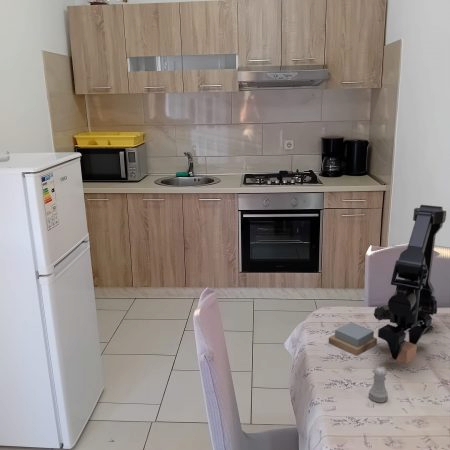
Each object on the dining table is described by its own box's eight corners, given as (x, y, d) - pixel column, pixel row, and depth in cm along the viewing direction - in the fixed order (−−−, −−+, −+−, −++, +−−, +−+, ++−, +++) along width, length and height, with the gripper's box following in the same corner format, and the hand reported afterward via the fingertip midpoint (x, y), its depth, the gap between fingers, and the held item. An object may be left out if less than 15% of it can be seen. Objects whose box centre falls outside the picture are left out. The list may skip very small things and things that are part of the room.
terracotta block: (399, 351, 136) (400, 338, 135) (415, 357, 132) (416, 345, 131) (389, 357, 133) (390, 344, 132) (406, 364, 129) (407, 351, 128)
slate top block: (350, 329, 146) (351, 321, 145) (373, 338, 140) (373, 330, 139) (334, 337, 141) (335, 329, 140) (357, 347, 135) (357, 339, 134)
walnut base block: (348, 334, 148) (348, 327, 147) (376, 346, 140) (377, 338, 139) (328, 344, 141) (328, 337, 141) (356, 357, 134) (357, 350, 133)
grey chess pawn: (388, 404, 112) (391, 374, 110) (369, 402, 113) (371, 372, 111) (386, 393, 116) (388, 364, 114) (367, 391, 117) (369, 363, 115)
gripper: (398, 285, 140) (394, 333, 144) (362, 302, 129) (359, 353, 133) (435, 296, 132) (429, 346, 136) (399, 315, 120) (395, 369, 124)
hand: (403, 353), depth 132 cm, fingers open, 9 cm apart
